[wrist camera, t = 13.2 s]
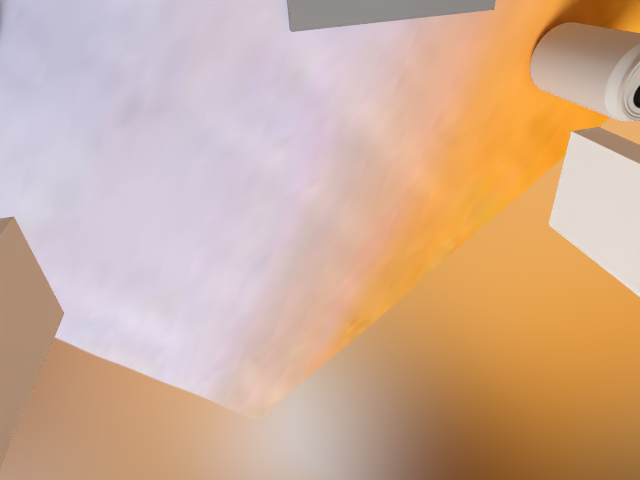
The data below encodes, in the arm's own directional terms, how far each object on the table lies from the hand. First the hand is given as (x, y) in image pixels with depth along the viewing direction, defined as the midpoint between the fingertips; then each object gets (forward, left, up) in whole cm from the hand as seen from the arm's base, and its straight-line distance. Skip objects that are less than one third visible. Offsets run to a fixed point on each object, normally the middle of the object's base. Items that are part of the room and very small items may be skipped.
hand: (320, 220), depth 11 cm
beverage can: (+30, -5, -32) cm, 44 cm away
